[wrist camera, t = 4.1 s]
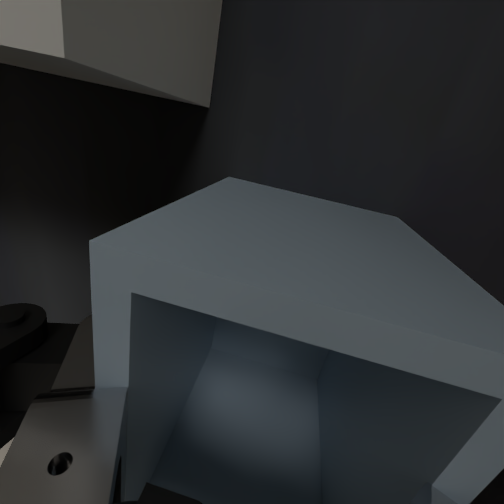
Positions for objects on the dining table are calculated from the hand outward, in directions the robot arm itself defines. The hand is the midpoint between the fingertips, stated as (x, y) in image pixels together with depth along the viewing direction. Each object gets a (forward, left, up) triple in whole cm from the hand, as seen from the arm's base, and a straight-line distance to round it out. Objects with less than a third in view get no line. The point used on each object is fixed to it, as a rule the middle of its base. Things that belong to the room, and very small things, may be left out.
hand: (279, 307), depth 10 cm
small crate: (0, 0, -1) cm, 1 cm away
